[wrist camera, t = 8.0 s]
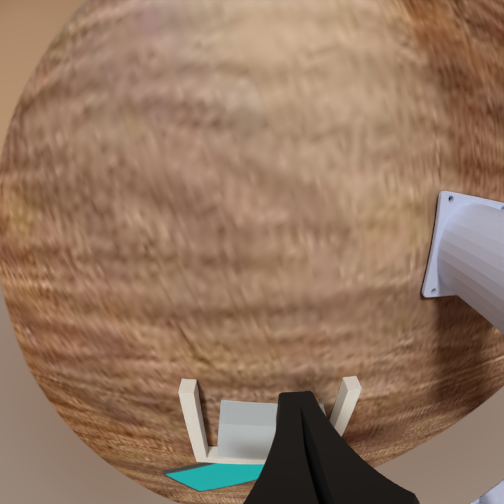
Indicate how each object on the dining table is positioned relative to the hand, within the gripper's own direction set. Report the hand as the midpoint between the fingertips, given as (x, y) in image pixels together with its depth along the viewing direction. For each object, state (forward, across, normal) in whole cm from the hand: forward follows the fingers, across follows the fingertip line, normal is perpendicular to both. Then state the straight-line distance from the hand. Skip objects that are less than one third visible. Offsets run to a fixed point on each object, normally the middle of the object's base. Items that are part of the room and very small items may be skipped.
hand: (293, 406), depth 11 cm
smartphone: (+9, +5, +25) cm, 27 cm away
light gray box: (+9, 0, +12) cm, 15 cm away
